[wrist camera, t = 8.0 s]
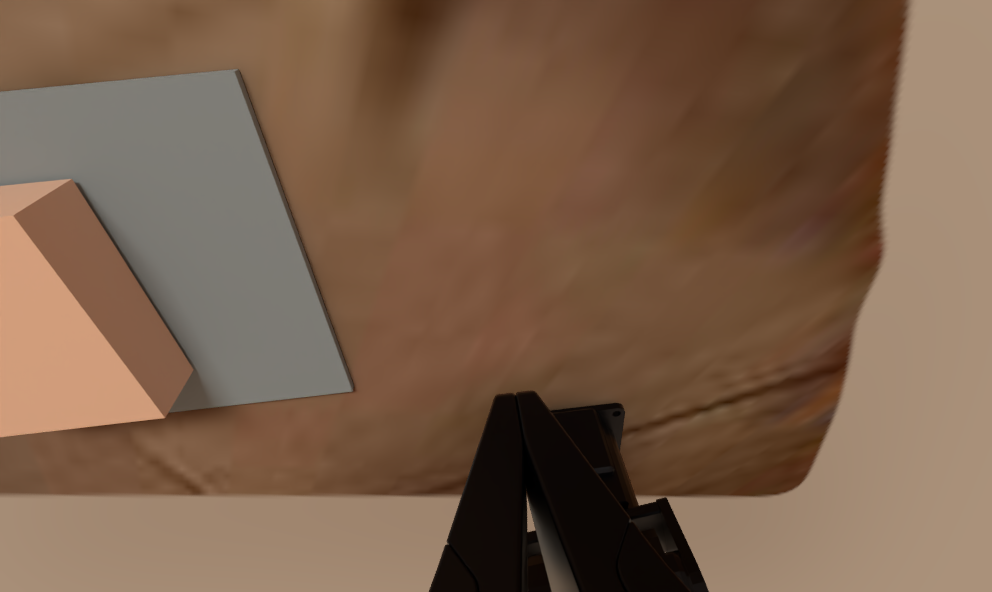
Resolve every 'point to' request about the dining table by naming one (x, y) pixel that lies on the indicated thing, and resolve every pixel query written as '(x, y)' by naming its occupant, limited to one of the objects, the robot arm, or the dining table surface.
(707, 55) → the dining table surface
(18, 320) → the tile
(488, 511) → the robot arm
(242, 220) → the mat
